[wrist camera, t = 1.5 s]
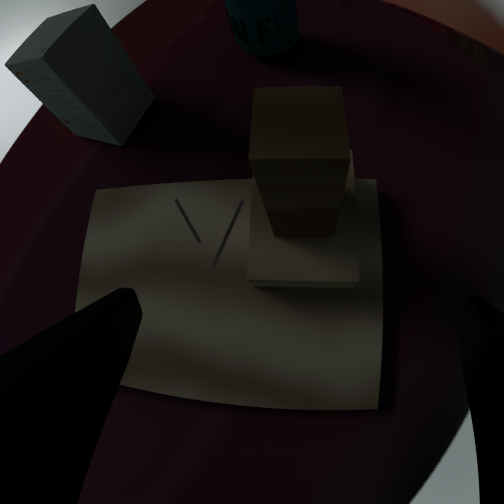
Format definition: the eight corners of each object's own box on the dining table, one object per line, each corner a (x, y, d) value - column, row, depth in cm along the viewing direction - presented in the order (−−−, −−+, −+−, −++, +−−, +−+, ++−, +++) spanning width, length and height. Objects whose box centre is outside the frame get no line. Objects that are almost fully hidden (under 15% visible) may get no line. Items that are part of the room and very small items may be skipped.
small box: (157, 97, 28) (96, 1, 15) (123, 148, 27) (40, 58, 14) (106, 92, 30) (46, 16, 17) (75, 136, 29) (2, 66, 16)
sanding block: (351, 288, 19) (402, 233, 8) (254, 287, 20) (197, 231, 9) (347, 172, 21) (367, 50, 10) (261, 172, 22) (224, 53, 11)
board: (372, 404, 18) (377, 409, 16) (83, 370, 22) (71, 371, 20) (372, 188, 21) (375, 179, 20) (105, 197, 25) (95, 190, 24)
